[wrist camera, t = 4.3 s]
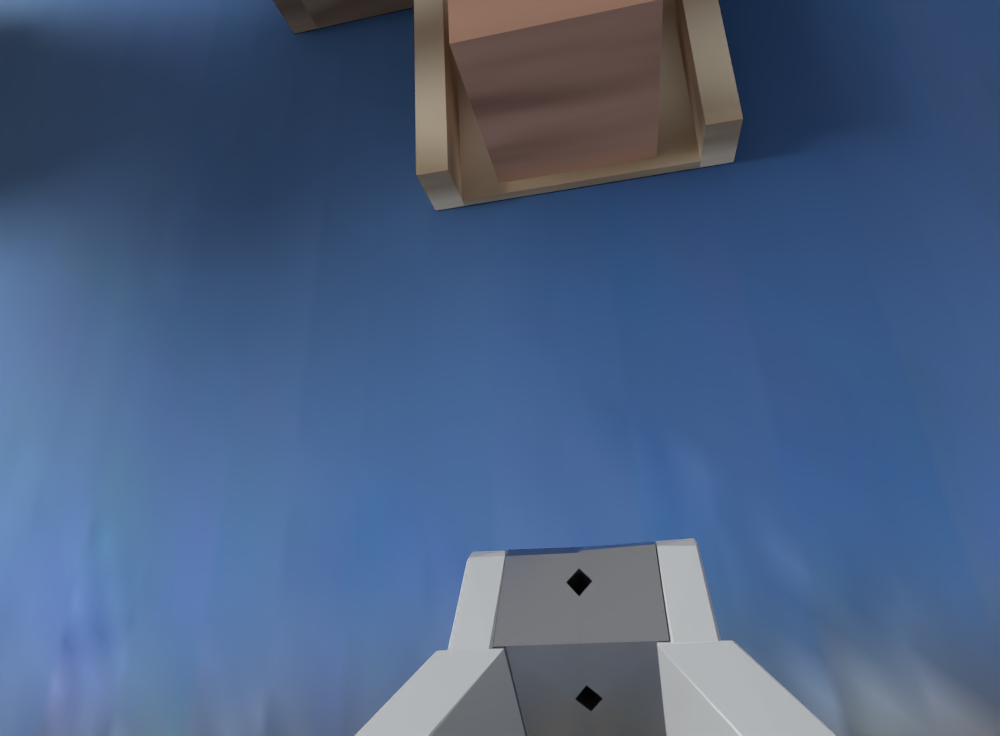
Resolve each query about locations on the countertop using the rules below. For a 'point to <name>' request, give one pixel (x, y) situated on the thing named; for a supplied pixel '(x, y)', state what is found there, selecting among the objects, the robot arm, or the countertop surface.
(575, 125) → the mahogany brick
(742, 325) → the countertop surface
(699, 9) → the wooden cross frame
